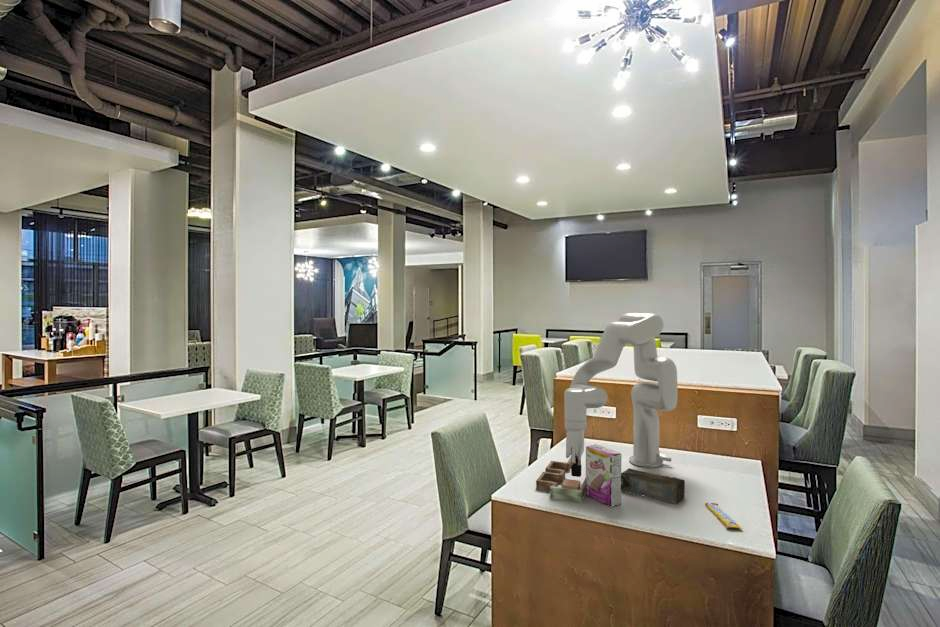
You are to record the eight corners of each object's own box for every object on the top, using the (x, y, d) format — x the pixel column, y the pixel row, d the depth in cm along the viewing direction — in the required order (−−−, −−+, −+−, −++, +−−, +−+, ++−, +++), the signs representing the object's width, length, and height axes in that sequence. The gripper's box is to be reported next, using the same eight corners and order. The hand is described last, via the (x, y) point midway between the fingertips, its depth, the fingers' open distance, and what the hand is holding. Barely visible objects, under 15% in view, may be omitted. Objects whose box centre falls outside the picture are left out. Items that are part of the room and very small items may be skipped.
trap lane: (598, 465, 192) (598, 456, 192) (581, 502, 157) (581, 491, 157) (557, 460, 198) (557, 451, 198) (531, 495, 163) (532, 484, 163)
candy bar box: (584, 495, 162) (584, 446, 162) (595, 492, 165) (595, 443, 165) (610, 507, 153) (611, 455, 153) (621, 504, 156) (622, 452, 155)
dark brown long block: (628, 484, 173) (628, 465, 173) (685, 498, 161) (686, 478, 161) (619, 490, 167) (619, 471, 167) (678, 506, 155) (678, 485, 155)
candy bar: (703, 507, 155) (703, 501, 155) (717, 507, 154) (717, 501, 154) (727, 532, 138) (727, 525, 138) (742, 533, 138) (743, 526, 138)
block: (579, 492, 166) (580, 480, 166) (577, 499, 160) (577, 487, 160) (564, 490, 167) (565, 478, 167) (561, 497, 162) (561, 485, 162)
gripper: (568, 418, 181) (569, 467, 182) (560, 428, 168) (561, 482, 168) (589, 419, 179) (590, 469, 179) (582, 430, 165) (583, 484, 166)
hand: (576, 475), depth 174 cm, fingers closed
